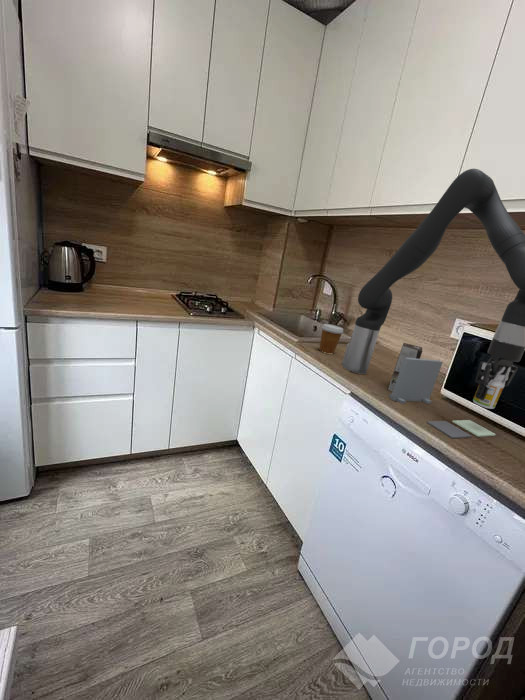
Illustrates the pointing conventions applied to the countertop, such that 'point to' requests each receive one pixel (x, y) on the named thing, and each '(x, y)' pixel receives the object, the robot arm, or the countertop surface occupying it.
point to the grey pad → (449, 429)
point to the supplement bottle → (491, 394)
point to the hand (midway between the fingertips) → (485, 398)
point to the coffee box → (405, 352)
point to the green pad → (473, 428)
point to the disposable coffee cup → (330, 337)
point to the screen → (416, 380)
